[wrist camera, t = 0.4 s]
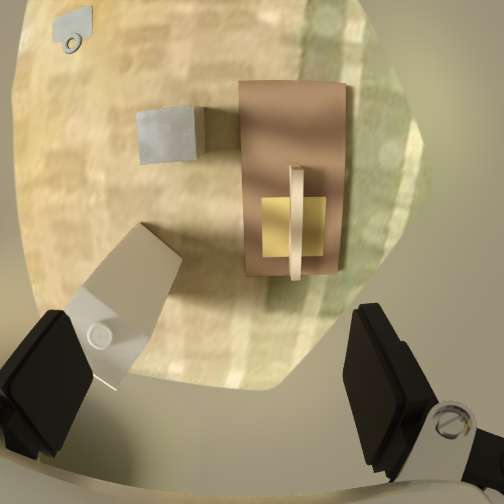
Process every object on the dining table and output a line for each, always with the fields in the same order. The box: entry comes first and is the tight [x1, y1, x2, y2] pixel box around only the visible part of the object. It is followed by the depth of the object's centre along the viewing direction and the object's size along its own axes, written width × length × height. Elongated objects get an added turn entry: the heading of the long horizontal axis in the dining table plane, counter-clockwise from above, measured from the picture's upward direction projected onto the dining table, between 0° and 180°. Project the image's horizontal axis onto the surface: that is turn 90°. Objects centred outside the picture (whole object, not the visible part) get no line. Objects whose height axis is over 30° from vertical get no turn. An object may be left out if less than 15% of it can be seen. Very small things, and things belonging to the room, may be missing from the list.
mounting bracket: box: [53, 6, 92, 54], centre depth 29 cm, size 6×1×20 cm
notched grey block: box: [136, 106, 206, 165], centre depth 29 cm, size 5×5×6 cm
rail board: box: [239, 80, 346, 281], centre depth 32 cm, size 22×11×4 cm, turn 2°
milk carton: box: [64, 222, 183, 391], centre depth 30 cm, size 7×7×19 cm
